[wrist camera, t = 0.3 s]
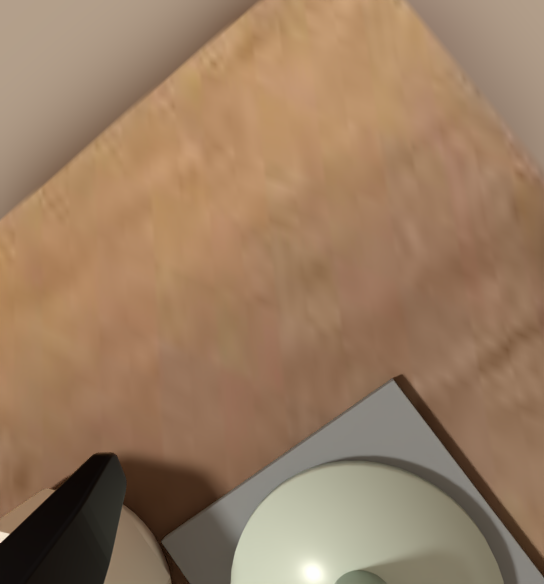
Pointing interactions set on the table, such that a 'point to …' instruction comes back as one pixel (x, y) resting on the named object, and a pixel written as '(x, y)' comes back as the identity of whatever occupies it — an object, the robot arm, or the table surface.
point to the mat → (339, 447)
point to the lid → (361, 531)
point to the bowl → (127, 548)
